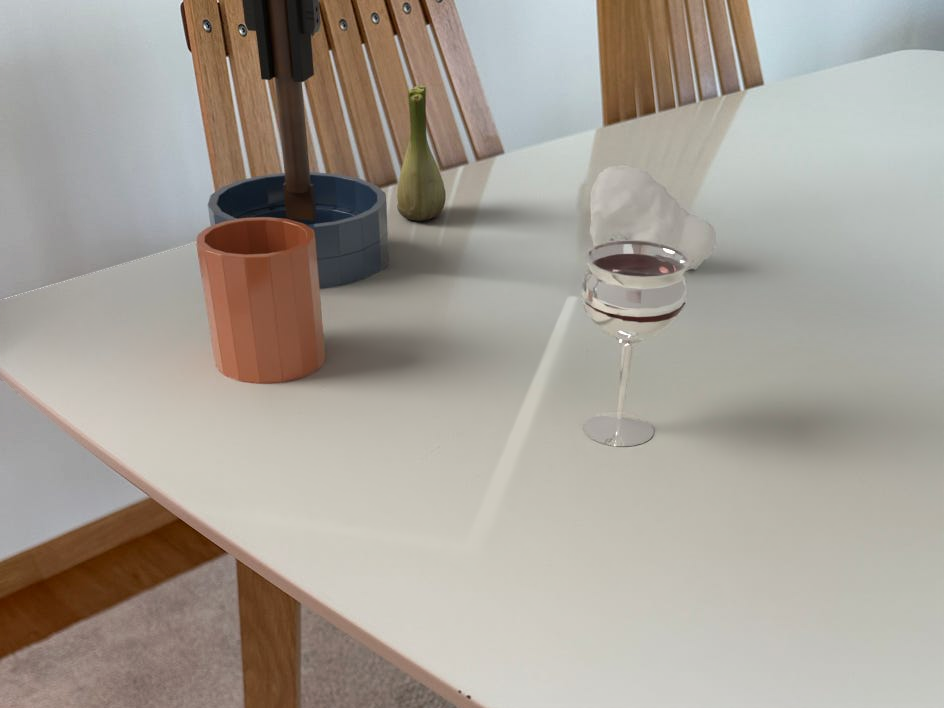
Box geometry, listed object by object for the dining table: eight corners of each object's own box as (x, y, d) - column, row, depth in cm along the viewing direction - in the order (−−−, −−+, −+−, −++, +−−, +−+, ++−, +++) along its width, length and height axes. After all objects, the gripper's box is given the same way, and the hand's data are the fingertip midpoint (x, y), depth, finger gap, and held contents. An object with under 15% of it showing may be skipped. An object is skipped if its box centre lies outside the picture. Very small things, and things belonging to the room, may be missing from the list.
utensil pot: (199, 386, 77) (176, 250, 71) (242, 341, 84) (224, 212, 77) (304, 398, 76) (290, 261, 70) (340, 352, 82) (330, 222, 76)
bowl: (189, 288, 92) (178, 218, 88) (256, 230, 104) (249, 166, 100) (359, 306, 89) (354, 235, 86) (408, 244, 101) (406, 179, 97)
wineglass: (583, 400, 77) (597, 234, 69) (674, 414, 75) (699, 246, 67) (559, 443, 72) (572, 269, 64) (657, 460, 70) (682, 284, 62)
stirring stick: (283, 221, 93) (255, -45, 80) (292, 213, 95) (265, -49, 82) (311, 223, 93) (287, -44, 80) (319, 215, 94) (297, -47, 82)
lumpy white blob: (598, 153, 95) (729, 174, 94) (582, 246, 100) (705, 267, 100) (593, 173, 90) (731, 195, 90) (577, 270, 96) (706, 292, 95)
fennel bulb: (415, 205, 110) (412, 79, 103) (456, 213, 109) (456, 85, 101) (387, 221, 106) (381, 91, 99) (429, 229, 105) (427, 97, 97)
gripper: (373, -303, 73) (389, 72, 88) (171, -304, 75) (220, 62, 90) (339, -309, 67) (362, 93, 82) (122, -310, 70) (183, 81, 85)
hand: (287, 76), depth 86 cm, fingers closed on stirring stick, 2 cm apart
